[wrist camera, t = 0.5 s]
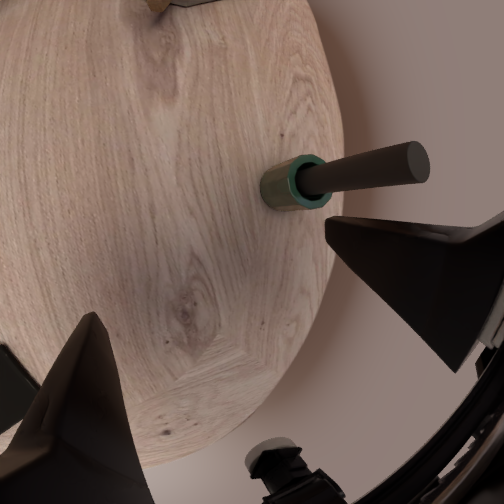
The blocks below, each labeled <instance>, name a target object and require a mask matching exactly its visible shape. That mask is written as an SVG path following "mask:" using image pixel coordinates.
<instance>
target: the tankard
mask: <svg viewBox="0 0 504 504" xmlns="http://www.w3.org/2000/svg"><path fill="white" fill-rule="evenodd" d="M209 1H214V0H146V2H147V4H148V6H149V8H150V9H151V11H155V12H160V13H161V12H163V11H164V10H165V9H166V7H167V6H168V5H169V4H170V3H172V4H177V5H182V6H186V7H187V6H191V5H195V4H199V3H204V2H209Z"/></svg>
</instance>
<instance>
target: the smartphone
mask: <svg viewBox="0 0 504 504" xmlns="http://www.w3.org/2000/svg"><path fill="white" fill-rule="evenodd" d="M39 389H40V388H39V386H38V385H37V384H36V383H35V382H34V381H33V380H32V379H31V378H30V376H29V375H28V374H27V373H26V372H25V371H24V369H23V368H22V367H21V366H20V365H19V363H18V362H17V361H16V360H15V358H14V357H13V356H12V354H11V353H10V352H9V351H8V349H7V348H6V347H5V346H4V345H0V435H1V434H2V433H3V432H5V431H6V430H8V429H9V428H11V427H12V426H14V425H15V424H16V423H18V422H19V421H21V420H22V419H24V417H25V415H26V413H27V412H28V410H29V408H30V406H31V404H32V403H33V401H34V399H35V397H36V395H37V393H38V391H39Z"/></svg>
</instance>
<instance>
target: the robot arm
mask: <svg viewBox="0 0 504 504" xmlns="http://www.w3.org/2000/svg"><path fill="white" fill-rule="evenodd" d="M325 239H326V242H327V243H328V245H329V246H330V247H331V248H332V249H333V250H334V251H335V252H336V254H337V255H338V256H339V257H340V258H341V259H342V260H343V261H344V262H345V263H346V265H347V266H348V267H349V268H350V269H351V270H352V271H353V272H354V273H355V274H357V275H358V276H359V277H360V278H361V279H362V280H363V281H364V282H365V283H366V284H367V285H368V286H369V287H370V288H371V289H372V290H373V291H375V292H376V293H377V294H378V295H379V296H380V297H381V298H382V299H383V300H384V301H385V302H386V303H387V304H388V305H389V306H390V307H391V308H392V309H393V310H394V311H395V312H396V313H397V314H398V315H399V316H400V317H401V318H402V319H403V320H404V321H405V322H406V323H407V324H408V325H409V326H410V327H411V328H412V329H413V330H414V331H415V332H416V333H417V334H418V335H419V336H421V338H422V339H423V340H424V341H425V342H426V343H427V344H428V346H429V347H430V348H431V349H432V350H433V351H434V352H435V353H436V354H437V355H438V356H439V357H440V358H441V359H442V360H443V361H444V363H445V364H446V365H447V366H448V367H449V368H450V369H451V370H452V371H453V372H454V373H456V372H457V371H458V370H459V369H460V367H461V366H462V365H463V363H464V362H465V361H466V360H467V358H468V357H469V356H470V354H471V353H472V351H473V350H474V349H475V347H476V346H477V345H478V343H479V342H481V343H483V344H484V345H485V346H486V347H485V349H484V350H483V352H482V353H481V355H480V356H479V358H478V360H477V361H476V363H475V366H476V370H477V376H478V381H477V382H476V383H475V385H474V386H473V388H472V389H471V390H470V392H469V393H468V394H467V396H466V397H465V398H464V399H463V401H462V402H461V403H460V405H459V406H458V407H457V408H456V410H455V411H454V412H453V413H452V414H451V416H450V417H449V418H448V419H447V420H446V421H445V422H444V424H443V425H442V426H441V427H440V428H439V429H438V430H437V431H436V432H435V434H434V435H433V436H432V437H431V438H430V439H429V440H428V441H427V442H426V443H425V444H424V445H423V446H422V447H421V448H420V449H419V450H418V451H417V452H416V453H415V454H414V455H412V456H411V457H410V458H409V459H408V460H407V461H406V462H405V463H404V464H402V465H401V466H400V467H399V468H398V469H397V470H396V471H394V472H393V473H392V474H391V475H389V476H388V477H387V478H386V479H385V480H383V481H382V482H381V483H379V484H378V485H377V486H376V487H374V488H373V489H371V490H370V491H369V492H367V493H366V494H365V495H363V496H362V497H360V498H359V499H357V500H356V501H355V502H353V503H351V504H504V211H503V212H501V213H500V214H498V215H496V216H495V217H493V218H492V219H490V220H488V221H487V222H485V223H483V224H482V225H479V226H476V227H457V226H442V225H432V224H421V223H411V222H402V221H391V220H381V219H368V218H357V217H344V216H332V217H330V218H327V219H326V220H325ZM42 386H43V387H42ZM42 386H41V387H40V389H39V391H38V393H37V395H36V397H35V399H34V401H33V403H32V404H31V406H30V408H29V410H28V412H27V413H26V415H25V417H24V419H23V421H22V422H21V424H20V426H19V428H18V429H17V431H16V433H15V435H14V437H13V439H12V441H11V443H10V444H9V446H8V448H7V449H6V450H5V451H4V452H3V453H2V454H1V455H0V504H155V503H154V501H153V498H152V496H151V493H150V490H149V488H148V485H147V483H146V480H145V477H144V474H143V471H142V468H141V465H140V462H139V459H138V455H137V452H136V449H135V445H134V441H133V438H132V434H131V430H130V426H129V422H128V418H127V414H126V409H125V405H124V400H123V395H122V390H121V385H120V379H119V374H118V369H117V366H116V362H115V358H114V354H113V351H112V347H111V343H110V338H109V334H108V332H107V330H106V328H105V326H104V325H103V323H102V322H101V320H100V318H99V317H98V315H97V314H96V313H95V312H90V313H88V314H85V315H84V316H83V317H82V319H81V320H80V322H79V323H78V325H77V326H76V328H75V330H74V331H73V333H72V334H71V336H70V337H69V339H68V341H67V342H66V344H65V345H64V347H63V349H62V350H61V352H60V354H59V355H58V357H57V359H56V361H55V362H54V364H53V366H52V368H51V369H50V371H49V373H48V375H47V376H46V378H45V380H44V382H43V384H42ZM471 436H473V437H474V438H475V440H474V442H472V443H471V444H470V446H469V447H468V448H469V451H468V452H467V453H466V454H464V455H463V456H462V457H461V458H460V459H458V460H457V462H456V463H455V464H454V465H455V466H456V467H455V468H454V469H453V470H451V471H450V472H449V473H447V474H446V475H445V476H443V477H442V478H441V479H440V478H439V477H438V476H437V475H438V474H439V473H440V472H441V471H442V470H443V469H444V468H445V467H446V466H447V465H448V463H449V462H450V461H451V460H452V459H453V458H454V457H455V455H456V454H457V453H458V452H459V451H460V449H461V448H462V447H463V446H464V445H465V443H466V442H467V441H468V439H469V438H470V437H471ZM301 451H302V448H301V447H292V448H283V449H272V450H264V451H262V453H261V455H260V457H259V459H258V461H257V463H256V465H255V467H254V469H253V471H252V473H251V475H250V478H251V479H261V480H262V482H263V483H264V485H265V486H266V488H267V490H268V491H269V493H270V494H271V495H269V496H265V497H263V498H262V499H263V501H264V502H263V503H262V504H347V502H346V501H345V500H344V498H345V494H344V492H343V491H342V490H341V488H340V487H339V486H338V484H337V483H335V481H333V480H332V479H331V478H330V477H329V476H328V475H327V474H326V473H324V472H323V471H322V470H321V469H320V468H319V469H317V470H316V471H315V472H313V473H312V472H311V471H310V470H309V469H308V468H307V464H306V463H305V462H304V460H303V459H302V458H301V457H300V455H299V454H300V453H301Z"/></svg>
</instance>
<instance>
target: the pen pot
mask: <svg viewBox="0 0 504 504" xmlns="http://www.w3.org/2000/svg"><path fill="white" fill-rule="evenodd" d="M324 163H326V162H325V161H324V160H322V159H321V158H319V157H317V156H315V155H312V154H308V155H300V156H298V157H295V158H292V159H290V160H287V161H285V162H282V163H280V164H278V165H275V166H273V167H272V168H270V169H268V170H267V171H266V172H265V173H264V175H263V177H262V179H261V182H260V191H261V195H262V198H263V200H264V201H265V203H266V204H267V205H268V206H270V207H271V208H273V209H275V210H278V211H296V210H312V209H316V208H321V207H323V206H324V205H325V204H326V203H327V202H328V201H329V200H330V199H331V197H332V193H333V192H332V193H325V194H317V195H310V196H303V197H302V196H301V194H300V193H299V192H298V190H297V189H296V184H295V175H296V172H297V171H300V170H303V169H307V168H310V167H313V166H317V165H320V164H324Z"/></svg>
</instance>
